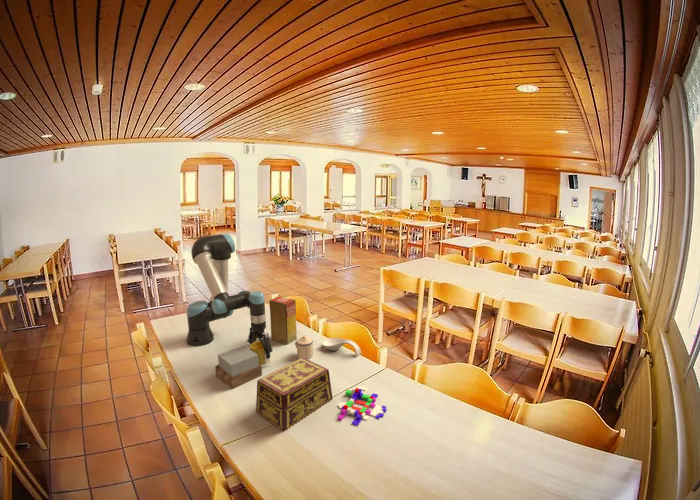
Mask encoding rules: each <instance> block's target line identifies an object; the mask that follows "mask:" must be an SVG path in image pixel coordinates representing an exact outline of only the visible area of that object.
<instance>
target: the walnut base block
mask: <svg viewBox="0 0 700 500" xmlns="http://www.w3.org/2000/svg"><path fill="white" fill-rule="evenodd" d="M262 366H263V365H260V364H259V366H258V367H256V368H253V369H251V370H248V371H246V372H243V373H241V374H239V375H236V376H234V377H231V376H230V375H229V374H228V373H227V372H225V371H224V370H223V369H222V368H220V367H219V364H217V365H215V366H214V369H215V377H216V378H217V379H218V380H220V381H221V382H223V383H224V384H225V385H227V386H228V387H229V388H231V389H232V390H234V389H236V388H238V387H240V386H242V385H244V384H247V383H249V382H251V381H253V380H255V379H257V378H259V377H261V376H262V377H263V368H262Z"/></svg>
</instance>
